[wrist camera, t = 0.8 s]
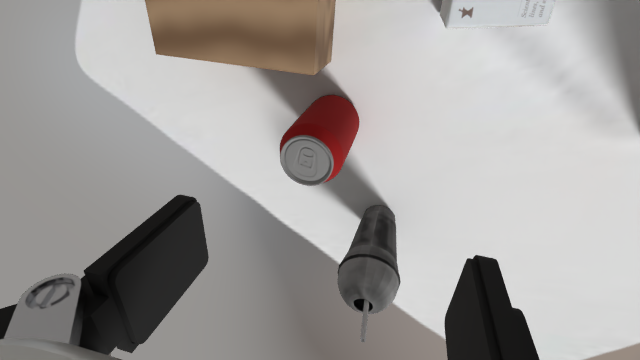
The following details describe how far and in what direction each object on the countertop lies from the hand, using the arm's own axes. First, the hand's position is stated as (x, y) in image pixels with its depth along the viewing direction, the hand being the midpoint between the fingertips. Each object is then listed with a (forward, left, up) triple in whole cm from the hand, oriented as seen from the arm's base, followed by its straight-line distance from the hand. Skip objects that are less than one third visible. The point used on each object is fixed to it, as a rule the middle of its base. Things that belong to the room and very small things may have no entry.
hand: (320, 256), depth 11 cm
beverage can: (+7, -6, -30) cm, 32 cm away
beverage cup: (+21, +2, -30) cm, 37 cm away
